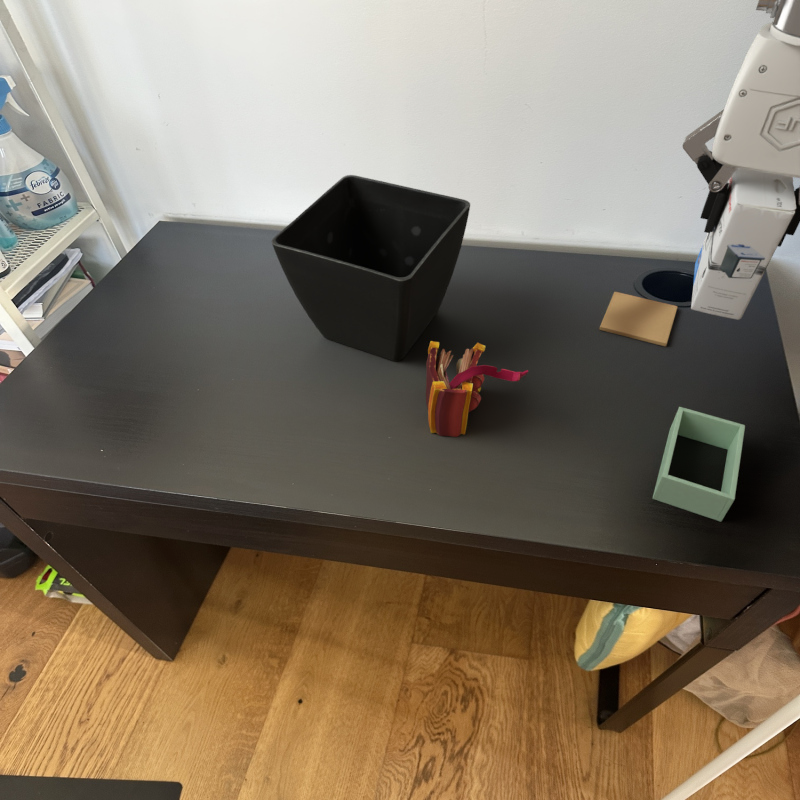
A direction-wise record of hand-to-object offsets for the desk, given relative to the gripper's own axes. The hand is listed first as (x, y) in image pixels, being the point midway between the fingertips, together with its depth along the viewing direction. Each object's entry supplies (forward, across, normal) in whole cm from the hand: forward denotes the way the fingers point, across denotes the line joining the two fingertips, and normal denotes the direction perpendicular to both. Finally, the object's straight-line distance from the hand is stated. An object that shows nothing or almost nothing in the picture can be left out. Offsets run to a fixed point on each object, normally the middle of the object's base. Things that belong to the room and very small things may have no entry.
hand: (743, 230), depth 59 cm
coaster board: (+25, -7, +16) cm, 30 cm away
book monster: (+25, -22, -11) cm, 35 cm away
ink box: (+7, 0, 0) cm, 7 cm away
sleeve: (+25, +4, -9) cm, 26 cm away
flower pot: (+25, -40, +1) cm, 47 cm away
